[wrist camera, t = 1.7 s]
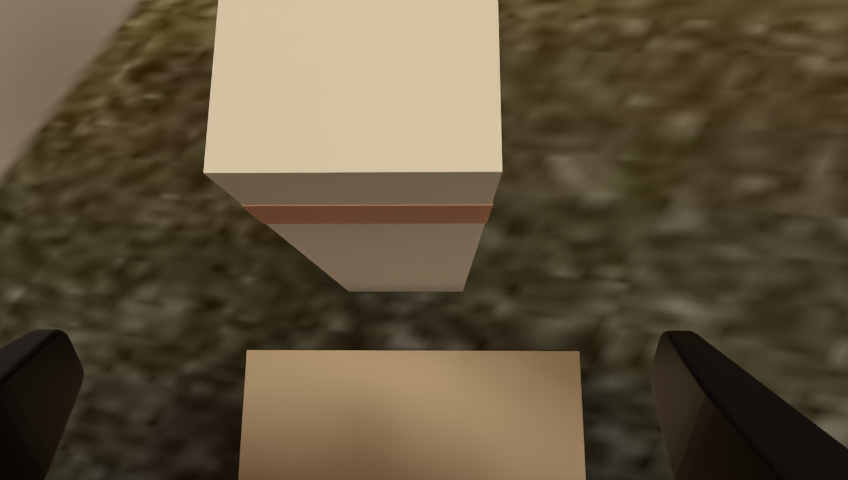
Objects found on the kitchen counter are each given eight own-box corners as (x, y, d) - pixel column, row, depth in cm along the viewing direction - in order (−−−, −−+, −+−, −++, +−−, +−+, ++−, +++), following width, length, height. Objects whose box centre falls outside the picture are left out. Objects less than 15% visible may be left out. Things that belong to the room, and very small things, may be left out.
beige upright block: (462, 292, 20) (504, 172, 8) (348, 292, 20) (201, 174, 8) (461, 156, 21) (494, -147, 9) (352, 156, 22) (229, -142, 9)
